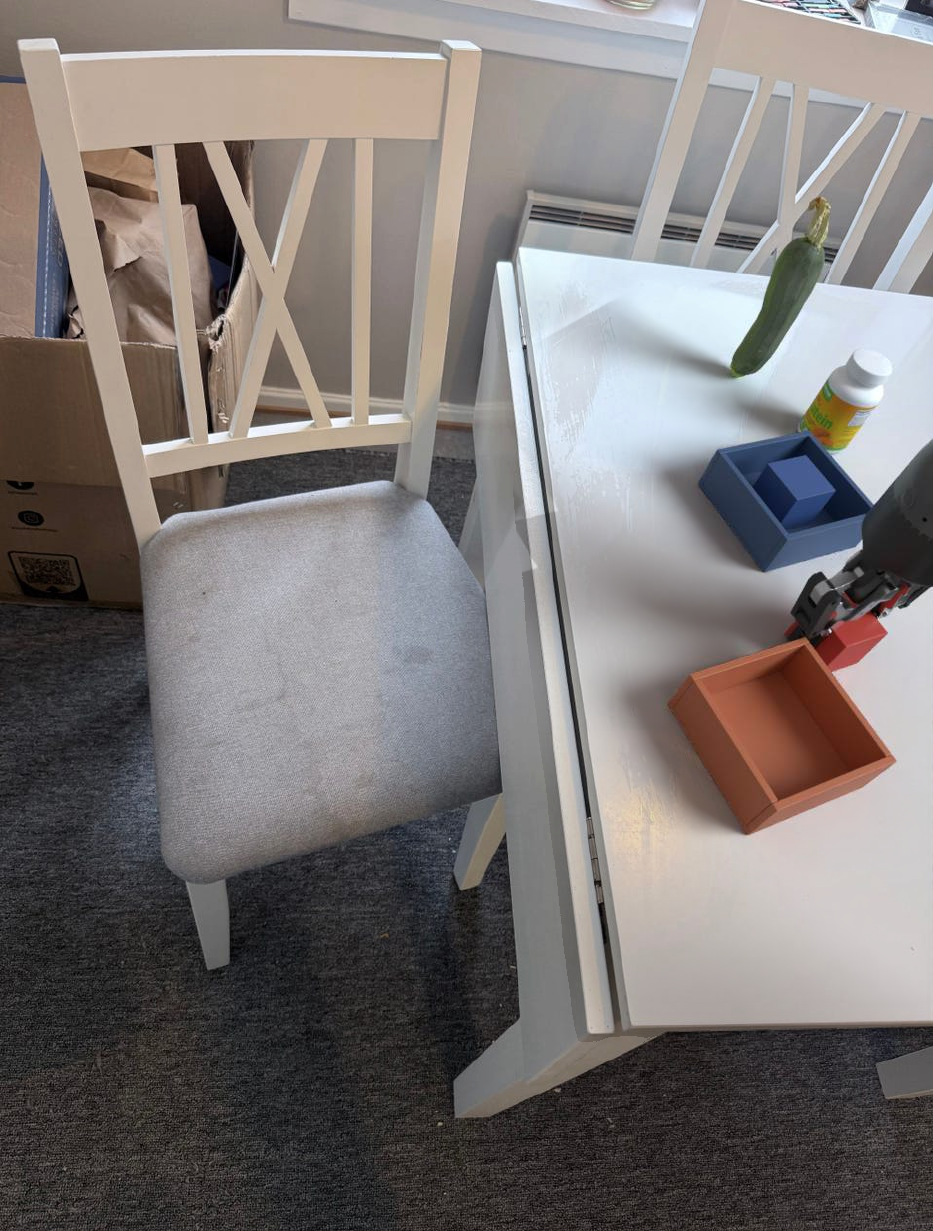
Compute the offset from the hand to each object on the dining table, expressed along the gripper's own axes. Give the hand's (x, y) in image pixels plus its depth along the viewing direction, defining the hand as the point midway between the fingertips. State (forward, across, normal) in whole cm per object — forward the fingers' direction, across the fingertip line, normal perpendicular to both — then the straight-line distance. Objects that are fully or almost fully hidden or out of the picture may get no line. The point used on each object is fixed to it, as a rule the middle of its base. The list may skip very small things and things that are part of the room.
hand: (820, 640), depth 71 cm
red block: (+1, 0, 0) cm, 1 cm away
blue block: (0, +5, +14) cm, 15 cm away
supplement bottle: (+1, +17, +22) cm, 28 cm away
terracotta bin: (0, -10, -6) cm, 12 cm away
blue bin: (+1, +6, +14) cm, 15 cm away
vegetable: (+1, +13, +32) cm, 34 cm away
